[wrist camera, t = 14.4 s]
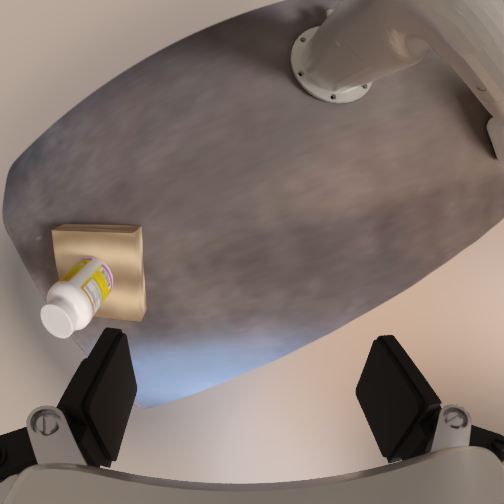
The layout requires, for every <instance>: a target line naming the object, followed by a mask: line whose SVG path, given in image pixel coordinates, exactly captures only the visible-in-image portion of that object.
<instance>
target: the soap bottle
mask: <svg viewBox="0 0 504 504" xmlns="http://www.w3.org/2000/svg"><path fill="white" fill-rule="evenodd" d="M486 127H487V131H488V134H489V136H490V139H491V142H492V145H493V147H494V150H495V153H496V156H497V159H498V160H499V161H500V162H501V163H502V164H504V123H502V122H500V121H499V120H497V119H496V118H495V117H492V118H491V119H490V120H489V121H488V124H487V126H486Z"/></svg>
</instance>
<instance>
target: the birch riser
mask: <svg viewBox="0 0 504 504" xmlns="http://www.w3.org/2000/svg"><path fill="white" fill-rule="evenodd" d="M52 238H53V246H54V253H55V260H56V267H57V273H58V278H59V279H60V278H61V277H62V276H64V275H65V274H66V273H67V272H68V271H69V270H70V269H71V268H72V267H73V266H74V265H76V264H77V263H78V262H79V261H80V260H82V259H84V258H86V257H95V258H98V259H100V260H102V261H103V262H104V263H105V264H106V265H107V266H108V267H109V269H110V270H111V273H112V275H113V287H112V290H111V292H110V293H109V295H108V296H107V298H106V299H105V300H104V302H103V303H102V305H101V306H100V308H99V309H98V310H97V312H96V313H95V315H94V316H97V317H104V318H113V319H121V320H130V321H140V322H141V320H142V318H143V316H144V314H145V312H146V310H147V304H146V293H145V281H144V267H143V249H142V226H130V225H97V224H63V225H61V226H59V227H57V228H55V229H54V230H52Z"/></svg>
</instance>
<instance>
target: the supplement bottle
mask: <svg viewBox="0 0 504 504" xmlns="http://www.w3.org/2000/svg"><path fill="white" fill-rule="evenodd" d="M112 287H113V275H112V273H111V270H110V269H109V267H108V266H107V265H106V264H105V263H104V262H103V261H102V260H100V259H98V258H95V257H86V258H84V259H82V260H80V261H79V262H78V263H77V264H76V265H74V266H73V267H72V268H71V269H70V270H69V271H68V272H67V273H66V274H65V275H64V276H62V277H61V278H60V279H59V280H58V281H57V282H56V283H55V284H54V285H53V286H52V287H51V288H50V290H49V291H48V294H47V303H46V304H45V305H44V306H43V307H42V309H41V320H42V322H43V324H44V326H45V327H46V329H47V330H48V331H49V332H50V333H51V334H53V335H54V336H56V337H59V338H67V337H69V336H70V335H71V334H72V333H73V331H74V330H80V329H82V328H84V327H86V326H87V325H88V323H89V322H90V321H91V319H92V318H93V316H94V315H95V313H96V312H97V310H98V309H99V308H100V306H101V305H102V303H103V302H104V300H105V299H106V298H107V296H108V295H109V293H110V292H111V290H112Z"/></svg>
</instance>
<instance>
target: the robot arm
mask: <svg viewBox="0 0 504 504" xmlns="http://www.w3.org/2000/svg"><path fill="white" fill-rule="evenodd" d="M301 41H303V42H301ZM429 46H431V47H432V48H433V49H434V50H435V51H436V52H437V53H438V54H439V55H440V56H441V57H443V58H444V59H445V60H446V62H447V63H448V64H449V65H450V66H451V67H452V68H453V69H454V70H455V72H456V73H457V74H458V75H459V76H460V77H461V79H462V80H463V81H464V82H465V83H466V85H467V86H468V87H469V88H470V90H471V91H472V92H473V93H474V95H475V96H476V97H477V99H478V100H479V101H480V102H481V104H482V105H483V106H484V107H485V108H486V110H487V111H488V112H489V113H490V114H491V115H492V116H493V117H495V118H496V119H497V120H499V121H500V122H502V123H504V0H341V1H340V3H339V4H338V5H337V6H336V7H335V9H334V10H331V9H329V10H327V19H326V20H325V21H324V22H323V24H322V25H321V26H317V27H313V28H310V29H308V30H306V31H305V32H303V33H302V34H301V35H300V36H299V37H298V38H297V40H296V41H295V43H294V45H293V47H292V50H291V55H290V62H291V68H292V71H293V74H294V76H295V78H296V79H297V81H298V82H299V84H300V85H301V86H302V87H303V88H304V89H305V90H306V91H307V92H308V93H309V94H311V95H312V96H314V97H316V98H317V99H320V100H322V101H325V102H329V103H335V104H343V103H349V102H352V101H355V100H357V99H359V98H361V97H362V96H363V95H364V94H366V92H367V91H368V90H369V89H370V86H371V84H372V82H373V81H375V80H377V79H380V78H382V77H385V76H387V75H390V74H392V73H395V72H398V71H400V70H403V69H406V68H408V67H411V66H413V65H415V64H416V63H418V62H419V61H420V60H421V59H422V58H423V57H424V56H425V54H426V53H427V51H428V49H429ZM299 73H300V74H301V75H302V76H299ZM362 86H363V87H364V88H363V87H362ZM330 96H332V97H333V99H331V98H330ZM136 393H137V384H136V380H135V375H134V371H133V366H132V361H131V356H130V351H129V346H128V340H127V335H126V334H124V333H122V331H121V329H115V328H108V327H107V328H105V329H104V331H103V333H102V334H101V336H100V338H99V339H98V341H97V343H96V344H95V346H94V348H93V349H92V351H91V353H90V354H89V356H88V358H85V359H84V360H83V361H82V362H81V364H80V365H79V367H78V369H77V371H76V372H75V374H74V376H73V378H72V380H71V381H70V383H69V385H68V387H67V389H66V390H65V392H64V394H63V396H62V398H61V400H60V402H59V403H58V406H57V407H53V406H40V407H38V408H36V409H34V410H33V411H32V412H31V413H30V414H29V416H28V418H27V421H26V422H27V427H24V428H22V429H18V430H16V431H13V432H10V433H7V434H3V435H0V504H504V436H502V435H500V434H497V433H494V432H491V431H488V430H485V429H482V428H479V427H476V426H473V425H471V417H470V414H469V413H468V412H467V411H466V410H465V409H464V408H463V407H460V406H458V405H453V404H452V405H447V406H444V407H443V408H441V406H440V404H441V401H440V399H439V398H438V396H437V395H436V393H435V392H434V390H433V389H432V388H431V386H430V385H429V383H428V382H427V381H426V379H425V378H424V376H423V375H422V373H421V372H420V371H419V369H418V368H417V367H416V365H415V364H414V363H413V361H412V360H411V358H410V357H409V356H408V355H407V353H406V352H405V350H404V349H403V348H402V346H401V345H400V344H399V342H398V341H397V340H396V338H395V337H394V336H393V335H384V336H379V337H378V338H377V340H374V341H373V344H372V347H371V350H370V352H369V355H368V358H367V361H366V364H365V367H364V369H363V372H362V374H361V377H360V380H359V382H358V384H357V387H356V396H357V399H358V401H359V403H360V405H361V408H362V410H363V412H364V414H365V417H366V419H367V421H368V423H369V426H370V428H371V430H372V432H373V435H374V437H375V440H376V442H377V444H378V447H379V449H380V451H381V454H382V456H383V457H386V458H387V460H388V463H392V462H396V461H399V460H401V459H402V461H400V462H397V463H393V464H389V465H385V466H381V467H377V468H373V469H368V470H364V471H359V472H355V473H349V474H344V475H338V476H332V477H326V478H318V479H310V480H302V481H291V482H278V483H257V484H222V483H201V482H188V481H178V480H169V479H161V478H153V477H147V476H140V475H135V474H129V473H124V472H119V471H114V470H108V469H103V468H100V465H101V466H105V467H109V468H110V466H111V462H112V461H116V460H117V457H118V453H119V449H120V446H121V442H122V439H123V435H124V432H125V428H126V425H127V422H128V419H129V415H130V412H131V409H132V406H133V403H134V399H135V396H136Z"/></svg>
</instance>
